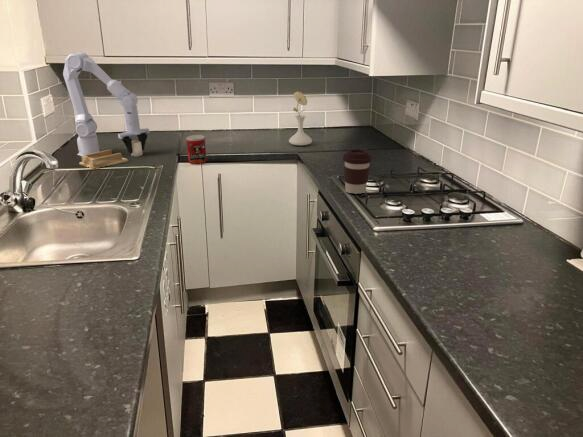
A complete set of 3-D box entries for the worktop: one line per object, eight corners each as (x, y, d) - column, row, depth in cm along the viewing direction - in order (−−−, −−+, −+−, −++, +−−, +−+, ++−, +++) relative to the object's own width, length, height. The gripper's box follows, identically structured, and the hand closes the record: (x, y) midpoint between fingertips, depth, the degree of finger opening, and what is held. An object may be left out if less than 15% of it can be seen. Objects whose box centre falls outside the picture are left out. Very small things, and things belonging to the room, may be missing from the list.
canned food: (189, 165, 199) (187, 140, 194) (188, 160, 206) (185, 135, 201) (207, 164, 201) (205, 138, 196) (205, 158, 208) (203, 134, 203)
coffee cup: (366, 187, 174) (369, 147, 167) (371, 196, 164) (374, 155, 158) (339, 187, 173) (341, 147, 167) (343, 197, 164) (345, 155, 158)
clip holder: (79, 164, 201) (78, 155, 199) (113, 156, 212) (112, 147, 210) (93, 169, 194) (92, 160, 192) (128, 161, 205) (127, 152, 203)
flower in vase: (315, 146, 227) (316, 93, 217) (294, 148, 223) (294, 94, 213) (305, 139, 238) (305, 89, 228) (284, 142, 234) (283, 90, 224)
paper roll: (129, 155, 213) (127, 141, 211) (138, 152, 217) (136, 139, 214) (135, 157, 210) (133, 143, 208) (144, 154, 214) (143, 141, 211)
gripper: (122, 125, 200) (126, 156, 206) (151, 120, 210) (155, 149, 216) (113, 123, 204) (118, 153, 210) (142, 118, 214) (146, 147, 220)
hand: (136, 151), depth 213 cm, fingers open, 5 cm apart
